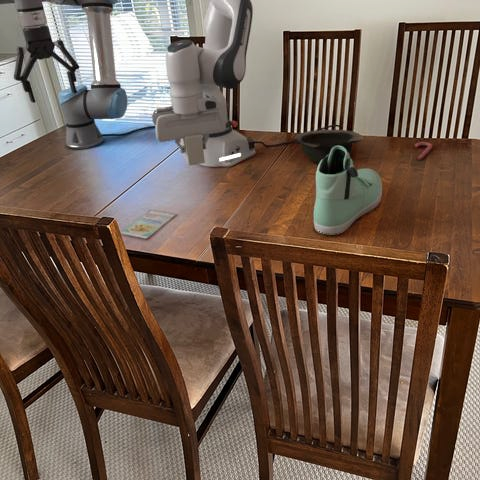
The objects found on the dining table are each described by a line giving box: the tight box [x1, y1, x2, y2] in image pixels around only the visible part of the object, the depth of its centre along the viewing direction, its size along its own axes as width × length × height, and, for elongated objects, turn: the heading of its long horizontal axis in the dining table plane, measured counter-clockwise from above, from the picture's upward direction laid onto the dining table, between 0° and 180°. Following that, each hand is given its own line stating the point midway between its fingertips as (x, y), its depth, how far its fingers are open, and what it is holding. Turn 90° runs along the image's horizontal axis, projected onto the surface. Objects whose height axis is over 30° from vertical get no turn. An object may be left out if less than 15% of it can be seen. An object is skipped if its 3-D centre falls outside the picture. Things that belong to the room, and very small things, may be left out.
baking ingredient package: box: [120, 209, 176, 239], centre depth 139 cm, size 9×1×15 cm
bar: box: [177, 134, 205, 166], centre depth 147 cm, size 22×5×8 cm, turn 17°
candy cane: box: [414, 141, 434, 161], centre depth 170 cm, size 6×15×2 cm, turn 145°
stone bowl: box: [292, 129, 365, 164], centre depth 172 cm, size 25×25×9 cm
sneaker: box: [313, 146, 383, 236], centre depth 133 cm, size 14×35×20 cm, turn 152°
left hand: (54, 97), depth 155 cm, fingers open, 13 cm apart
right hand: (193, 150), depth 141 cm, fingers closed on bar, 5 cm apart
